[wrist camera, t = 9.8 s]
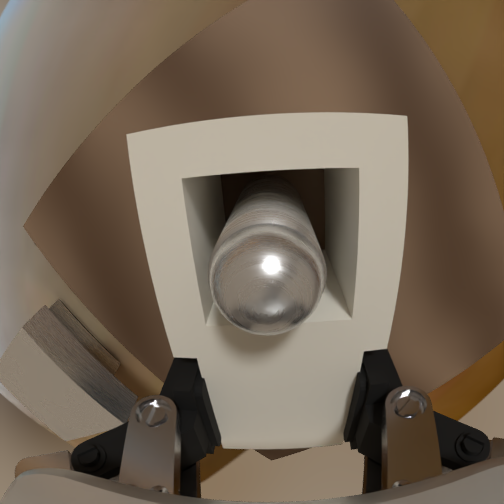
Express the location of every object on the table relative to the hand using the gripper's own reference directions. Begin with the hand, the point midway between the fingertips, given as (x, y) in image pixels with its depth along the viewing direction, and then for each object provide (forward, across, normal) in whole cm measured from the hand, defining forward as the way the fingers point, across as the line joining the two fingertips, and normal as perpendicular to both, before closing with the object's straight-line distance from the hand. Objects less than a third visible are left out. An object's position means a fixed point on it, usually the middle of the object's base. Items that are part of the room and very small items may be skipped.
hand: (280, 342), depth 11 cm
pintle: (+1, 0, -5) cm, 5 cm away
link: (+1, 0, -1) cm, 1 cm away
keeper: (+2, +9, +1) cm, 10 cm away
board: (+2, -1, -2) cm, 3 cm away
